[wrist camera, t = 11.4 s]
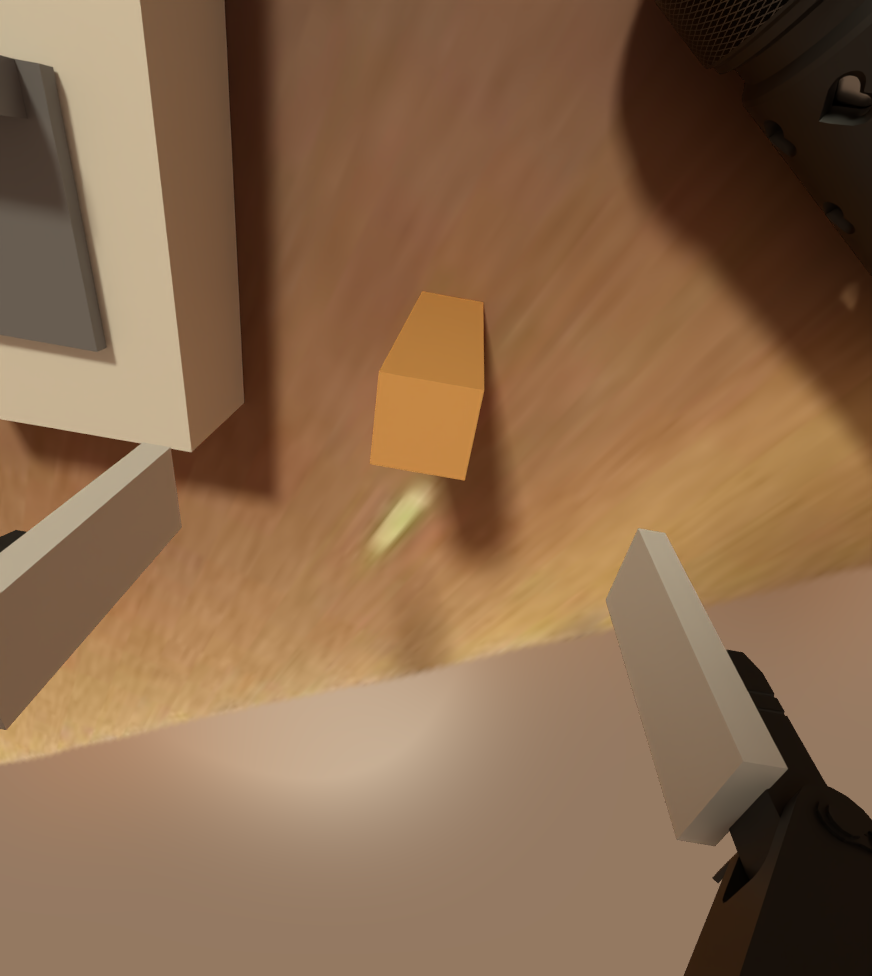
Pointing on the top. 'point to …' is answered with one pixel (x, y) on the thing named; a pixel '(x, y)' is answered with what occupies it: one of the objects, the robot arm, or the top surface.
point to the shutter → (41, 218)
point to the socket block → (139, 220)
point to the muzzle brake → (800, 90)
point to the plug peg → (431, 389)
